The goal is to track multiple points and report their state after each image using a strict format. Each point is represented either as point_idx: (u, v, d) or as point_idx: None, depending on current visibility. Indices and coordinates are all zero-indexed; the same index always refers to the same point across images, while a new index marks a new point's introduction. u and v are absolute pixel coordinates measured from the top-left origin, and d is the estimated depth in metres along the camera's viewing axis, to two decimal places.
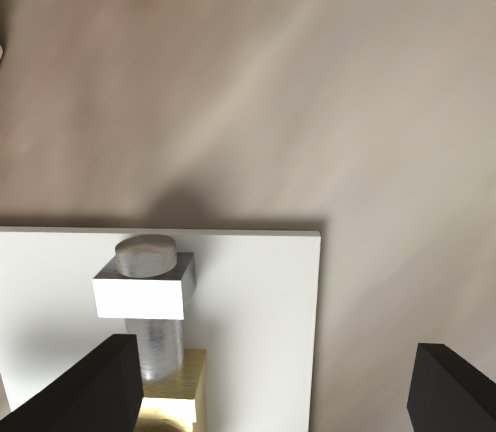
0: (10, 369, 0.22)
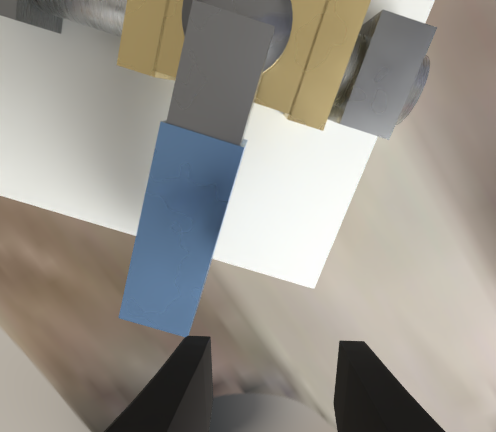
0: None
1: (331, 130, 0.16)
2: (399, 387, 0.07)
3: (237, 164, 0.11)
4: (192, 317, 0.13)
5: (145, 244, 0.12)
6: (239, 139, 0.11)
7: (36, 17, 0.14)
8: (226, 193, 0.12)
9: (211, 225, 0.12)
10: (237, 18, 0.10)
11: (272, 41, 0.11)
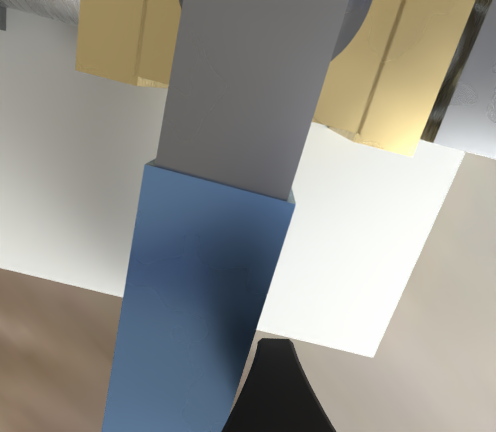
0: None
1: None
2: (303, 383, 0.07)
3: (283, 233, 0.06)
4: None
5: (131, 361, 0.07)
6: (286, 189, 0.06)
7: None
8: (264, 281, 0.07)
9: (238, 331, 0.07)
10: None
11: None
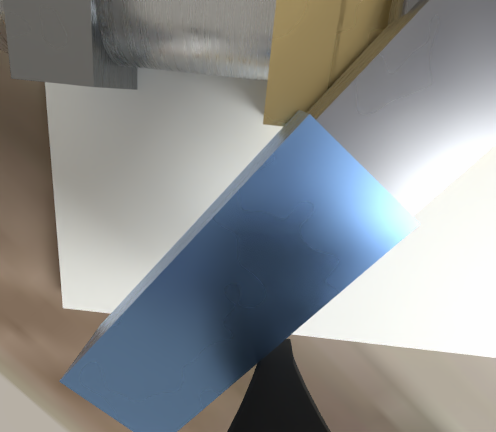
0: None
1: None
2: (298, 383, 0.07)
3: (393, 244, 0.06)
4: (181, 425, 0.08)
5: (166, 296, 0.07)
6: (418, 206, 0.06)
7: (113, 75, 0.09)
8: (347, 279, 0.06)
9: (291, 313, 0.07)
10: None
11: None
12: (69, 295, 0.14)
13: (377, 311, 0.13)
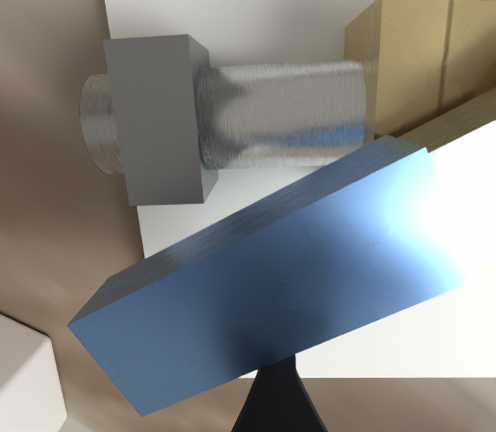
0: (383, 363, 0.14)
1: None
2: (296, 383, 0.07)
3: (446, 289, 0.07)
4: (175, 401, 0.08)
5: (214, 273, 0.07)
6: (481, 262, 0.06)
7: (209, 181, 0.10)
8: (393, 309, 0.07)
9: (327, 325, 0.07)
10: None
11: None
12: None
13: (467, 346, 0.14)
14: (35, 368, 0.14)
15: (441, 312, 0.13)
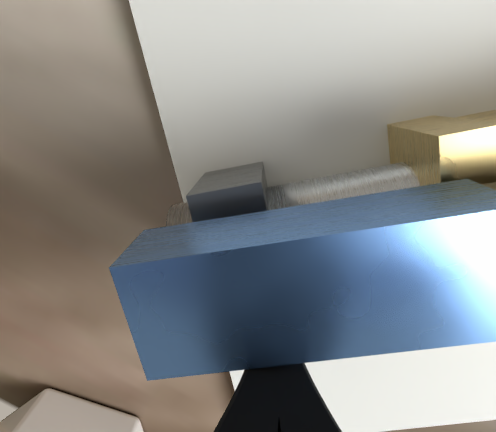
0: (459, 410, 0.15)
1: None
2: (308, 383, 0.07)
3: (490, 340, 0.07)
4: (189, 374, 0.07)
5: (284, 261, 0.06)
6: None
7: None
8: (436, 344, 0.07)
9: (369, 341, 0.07)
10: None
11: None
12: None
13: None
14: None
15: None
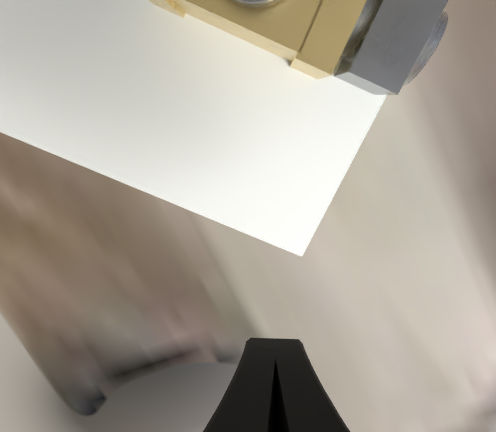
0: (145, 177, 0.18)
1: (337, 89, 0.16)
2: (315, 384, 0.07)
3: None
4: None
5: None
6: None
7: None
8: None
9: None
10: None
11: None
12: None
13: (209, 188, 0.18)
14: None
15: (198, 149, 0.17)
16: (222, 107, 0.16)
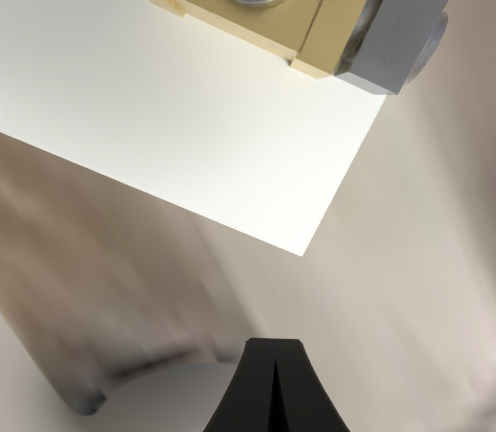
0: (145, 177, 0.18)
1: (337, 89, 0.16)
2: (315, 384, 0.07)
3: None
4: None
5: None
6: None
7: None
8: None
9: None
10: None
11: None
12: None
13: (209, 188, 0.18)
14: None
15: (198, 149, 0.17)
16: (222, 107, 0.16)
